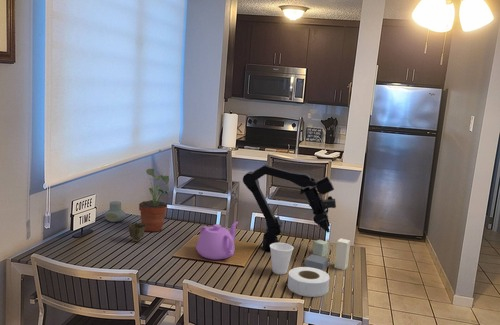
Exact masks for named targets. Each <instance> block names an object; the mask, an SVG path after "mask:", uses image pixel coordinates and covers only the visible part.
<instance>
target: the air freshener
mask: <svg viewBox="0 0 500 325" xmlns="http://www.w3.org/2000/svg"><path fill="white" fill-rule="evenodd" d="M126 216H127V214H126V212H125V211H124V210H123V209H122V202H121V201H118V200H116V201H110V202H109V209H108V210H107V211H106V212H104V219H105V220H106V221H107V222H110V223H119V222H122V221H123V220H125V218H126Z"/></svg>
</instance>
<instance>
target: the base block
mask: <svg viewBox="0 0 500 325" xmlns="http://www.w3.org/2000/svg"><path fill="white" fill-rule="evenodd" d="M329 260H330V258H329V257H325V256H323V257H322V256H318V255H315V254H313V253H311V254H310V255H309V256H307V257H306V258H305V259H304V267H311V268H316V269H320V270H322V271H324V272H325V270H326V269H327V268H328V267H329Z"/></svg>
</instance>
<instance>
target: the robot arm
mask: <svg viewBox="0 0 500 325" xmlns="http://www.w3.org/2000/svg"><path fill="white" fill-rule="evenodd" d="M265 175H267V176H271V177H276V178H277V179H281V180H286V181H290V182H291V183H293V184H295V185H296V186H299V187H300V192H299V195H303V194H304V196H305V198H306V199H307V200H306V201H307V202H308V206H309V207H310V208H311V210H312V214H313V218H312V219H313V221H314V223H315V224H317V225H318V226H319V227H320V228H322V230H324V232H326V233H330V228H329V227H330V226H331V225H330V220H329V216H328V213H329V209H331V208H332V209H336V208H337V205H336V199H335V198H333V197H332V195H330V196H327V198H326V199H323V198H322V197H320V195H322V196H323V195H325V194H328V193H330V192H333V191H335V187H334V186H333V183H332V182H331V180H330V179H329V177H328V176H325V177H323V178H322V179H319V180H318V179H315V178H313V177H311V176H310V174H309V173H308V172H300V171H299V172H298V171H297V172H295V171H290V170H286V169H281V168H277V167H274V166H271V165H269V164H264V165H262V166H261V167H259V168H257V169H255V170H254V171H248V172H246V173H245V174H244V175H243V177H242V182H243V184H244V185H245V187H246V188H247V189H248V190H249V191H250V192H251V193H252V196H253V197H254V199H255V201H256V203H257V205H258V207H259V209H260V212H261V213H262V215H263V218H264V219H265V222H266V223H265V224H266V229H265V231H264V233H263V235H262V246H260V250H261V249H262V250H263V251H264V252H266V253H271V250H270V244H272V243H279V237H278V236H279V235H281V232H282V230H283V222H282V221H281V219H280V215H278V216H276V215H274V214H273V211H272V209H271V207H270V205H269V203H268V201H267V199H266V197H265V195H264V193H263V191H262V190H261V187H260V181H259V180H260V178H262V177H263V176H265Z"/></svg>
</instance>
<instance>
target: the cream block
mask: <svg viewBox="0 0 500 325" xmlns="http://www.w3.org/2000/svg"><path fill="white" fill-rule="evenodd" d="M350 247H351V240H349V239H345V238H339V239H338V240H337V241H336V247H335V248H336V249H335V250H336V251H335V257H334V258H335V259H334V260H335V261H334V267H333V268H335V269H338V270H342V271H345V270H346V269H348V266H349V256H350Z"/></svg>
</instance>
